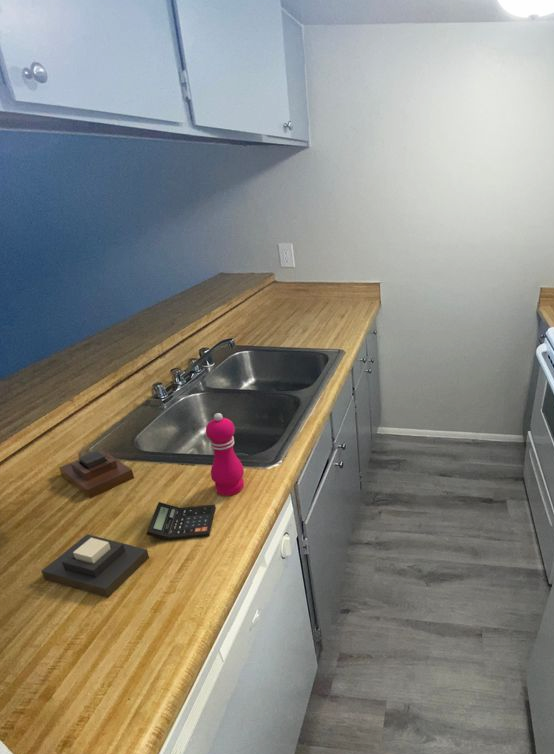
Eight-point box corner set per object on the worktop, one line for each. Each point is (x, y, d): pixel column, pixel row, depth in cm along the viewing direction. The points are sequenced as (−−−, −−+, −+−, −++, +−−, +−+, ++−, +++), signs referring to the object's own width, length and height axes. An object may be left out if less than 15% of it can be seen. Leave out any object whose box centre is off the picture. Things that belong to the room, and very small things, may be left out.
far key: (80, 463, 111) (78, 457, 110) (98, 456, 114) (96, 450, 113) (88, 469, 109) (86, 463, 108) (106, 462, 112) (104, 456, 111)
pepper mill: (223, 477, 115) (210, 404, 106) (251, 480, 114) (240, 407, 105) (208, 495, 109) (193, 419, 99) (237, 499, 108) (225, 423, 99)
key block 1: (61, 476, 113) (56, 460, 111) (105, 458, 120) (100, 443, 118) (90, 498, 106) (84, 482, 104) (134, 478, 114) (130, 462, 111)
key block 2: (44, 579, 86) (37, 563, 84) (90, 542, 94) (84, 526, 93) (108, 597, 83) (102, 581, 81) (149, 557, 91) (145, 542, 90)
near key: (75, 559, 86) (72, 552, 85) (93, 544, 89) (91, 537, 88) (93, 564, 85) (90, 557, 84) (111, 549, 88) (108, 542, 87)
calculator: (209, 536, 97) (206, 525, 96) (148, 543, 95) (144, 531, 93) (215, 507, 105) (213, 496, 104) (159, 512, 103) (156, 502, 102)
